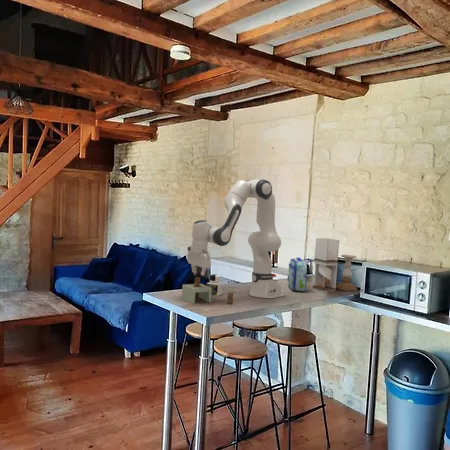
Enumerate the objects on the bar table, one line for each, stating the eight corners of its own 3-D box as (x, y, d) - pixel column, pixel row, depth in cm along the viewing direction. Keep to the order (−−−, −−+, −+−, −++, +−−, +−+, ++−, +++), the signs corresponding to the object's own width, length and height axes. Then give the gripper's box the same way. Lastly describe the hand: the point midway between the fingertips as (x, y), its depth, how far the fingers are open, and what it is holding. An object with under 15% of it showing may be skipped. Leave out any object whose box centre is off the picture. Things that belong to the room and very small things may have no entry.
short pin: (230, 302, 249) (231, 292, 249) (233, 304, 246) (234, 293, 246) (226, 303, 247) (226, 292, 247) (229, 304, 245) (229, 293, 244)
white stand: (312, 288, 308) (316, 238, 306) (323, 287, 314) (327, 238, 312) (323, 291, 298) (327, 240, 296) (335, 291, 304) (339, 240, 302)
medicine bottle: (206, 294, 266) (207, 274, 266) (210, 292, 273) (212, 273, 272) (217, 296, 264) (218, 276, 263) (221, 294, 270) (222, 274, 270)
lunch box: (286, 284, 316) (288, 255, 315) (301, 286, 315) (303, 256, 314) (290, 292, 290) (292, 260, 289) (307, 293, 289) (309, 261, 288)
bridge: (200, 297, 258) (200, 283, 258) (210, 301, 248) (211, 287, 248) (181, 298, 252) (182, 284, 251) (192, 303, 242) (193, 288, 241)
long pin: (197, 299, 252) (198, 276, 251) (199, 300, 249) (201, 277, 249) (192, 299, 250) (193, 277, 249) (195, 301, 248) (196, 278, 247)
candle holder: (357, 291, 309) (359, 257, 307) (342, 291, 306) (345, 256, 305) (349, 288, 319) (351, 254, 318) (335, 287, 317) (337, 254, 315)
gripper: (214, 251, 241) (212, 276, 242) (195, 246, 258) (194, 270, 259) (204, 251, 238) (202, 277, 239) (185, 247, 255) (184, 271, 256)
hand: (198, 273), depth 249 cm, fingers open, 8 cm apart
